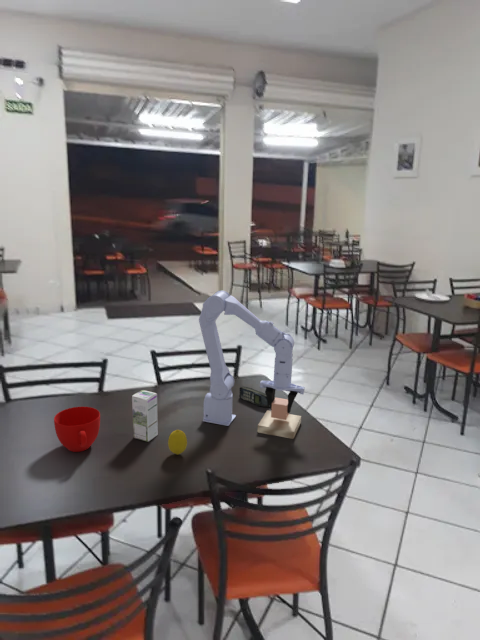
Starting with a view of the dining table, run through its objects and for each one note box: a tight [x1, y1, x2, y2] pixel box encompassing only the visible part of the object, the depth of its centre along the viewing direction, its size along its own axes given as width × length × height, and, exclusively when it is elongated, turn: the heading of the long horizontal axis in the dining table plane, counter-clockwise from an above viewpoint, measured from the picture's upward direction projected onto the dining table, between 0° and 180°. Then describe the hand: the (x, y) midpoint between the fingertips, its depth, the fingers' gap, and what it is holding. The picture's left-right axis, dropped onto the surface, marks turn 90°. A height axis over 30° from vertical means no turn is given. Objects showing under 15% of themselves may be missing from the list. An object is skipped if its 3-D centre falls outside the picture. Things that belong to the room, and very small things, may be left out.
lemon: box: [167, 429, 188, 455], centre depth 139 cm, size 6×6×8 cm
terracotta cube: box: [270, 397, 290, 420], centre depth 157 cm, size 5×5×5 cm
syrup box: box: [131, 389, 159, 443], centre depth 148 cm, size 6×6×14 cm
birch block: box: [257, 409, 302, 440], centre depth 159 cm, size 12×12×3 cm
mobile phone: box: [239, 386, 270, 408], centre depth 177 cm, size 5×3×15 cm
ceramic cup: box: [53, 406, 101, 453], centre depth 140 cm, size 13×17×10 cm
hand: (280, 410), depth 157 cm, fingers closed on terracotta cube, 5 cm apart
